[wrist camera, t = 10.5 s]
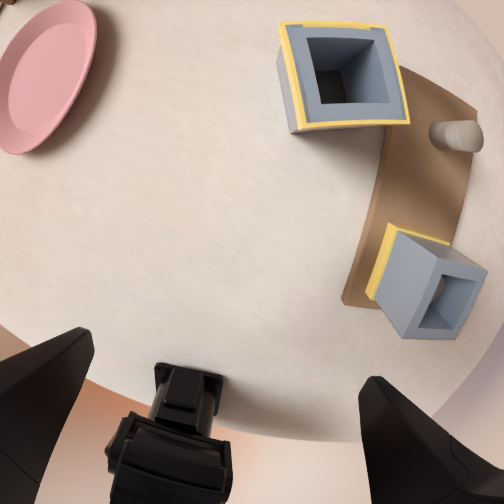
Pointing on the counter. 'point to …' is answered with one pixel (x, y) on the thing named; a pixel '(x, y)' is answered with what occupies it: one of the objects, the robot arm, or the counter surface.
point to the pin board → (418, 177)
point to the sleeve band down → (423, 284)
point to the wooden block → (7, 1)
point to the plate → (44, 73)
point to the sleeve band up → (352, 71)
